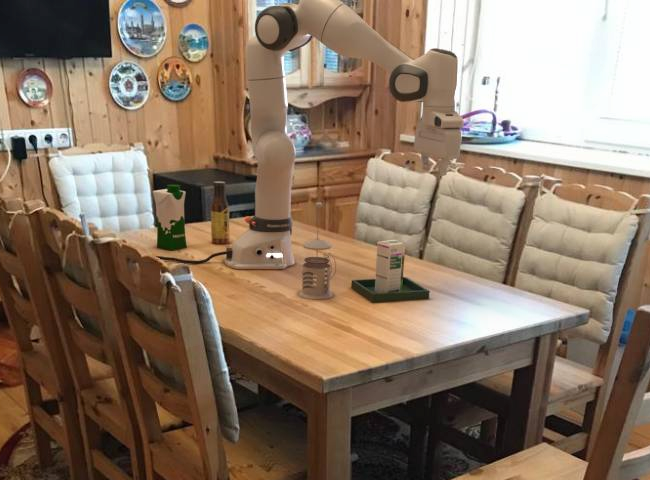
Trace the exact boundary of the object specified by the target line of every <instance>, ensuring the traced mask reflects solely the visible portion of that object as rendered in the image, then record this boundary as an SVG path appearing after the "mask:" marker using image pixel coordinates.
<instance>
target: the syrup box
mask: <svg viewBox="0 0 650 480" xmlns="http://www.w3.org/2000/svg"><path fill="white" fill-rule="evenodd" d="M405 255H406V242H405V241H404V242H403V241H401V240H398V239H388V240H382V241H377V243H376V259H375V260H376V262H375V276H374V277H375V278H374V279H375V292H376V293H391V292H402V284H403V277H404V271H405V270H404V268H405Z"/></svg>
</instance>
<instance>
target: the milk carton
mask: <svg viewBox="0 0 650 480" xmlns="http://www.w3.org/2000/svg"><path fill="white" fill-rule="evenodd" d="M180 187H181V185H180V184H175V183H170V184H167V185H166V188H164V189H157V190H152V194H153V199H154V203H155V215H156V230H157V231H156V233H157V234H156V248H159V249H164V250H168V251H175V250H180V249H186V248H187V247H188V246H187V237H186V225H185V224H186V223H185V222H186V221H185V199H186V194H187V192H186V191H184V190H181V188H180Z"/></svg>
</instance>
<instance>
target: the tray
mask: <svg viewBox="0 0 650 480" xmlns="http://www.w3.org/2000/svg"><path fill="white" fill-rule="evenodd" d="M350 283H351V285H350V288H351V289H352V290H353V291H355V292H356V293H357V294H358V295H360V296H361V297H363V298H365V299H366V300H367V301H369V302H370V303H372V304H377V303H390V302H391V303H393V302H407V301H408V302H409V301H421V300H430V293H431V291H430V289H427V288H426V287H424V286H422V285H420V284H419V283H417V282H416V281H413V280H412V279H410V278H408V277H407V276H403V284H402V292H391V293H376V292H375V278H366V279H365V278H364V279H363V278H362V279H351V282H350Z"/></svg>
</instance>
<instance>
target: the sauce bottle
mask: <svg viewBox="0 0 650 480" xmlns="http://www.w3.org/2000/svg"><path fill="white" fill-rule="evenodd" d="M212 183H213V184H212V185H213V198H212V199H211V202H210V229H211V233H210V234H211V242H212V243H213V244H217V245H225V244H228V243H230V237H231V236H230V235H231V234H230V205H229V202H228V200H227V196H226V181H220V180H219V181H218V180H217V181H213V182H212Z"/></svg>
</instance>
